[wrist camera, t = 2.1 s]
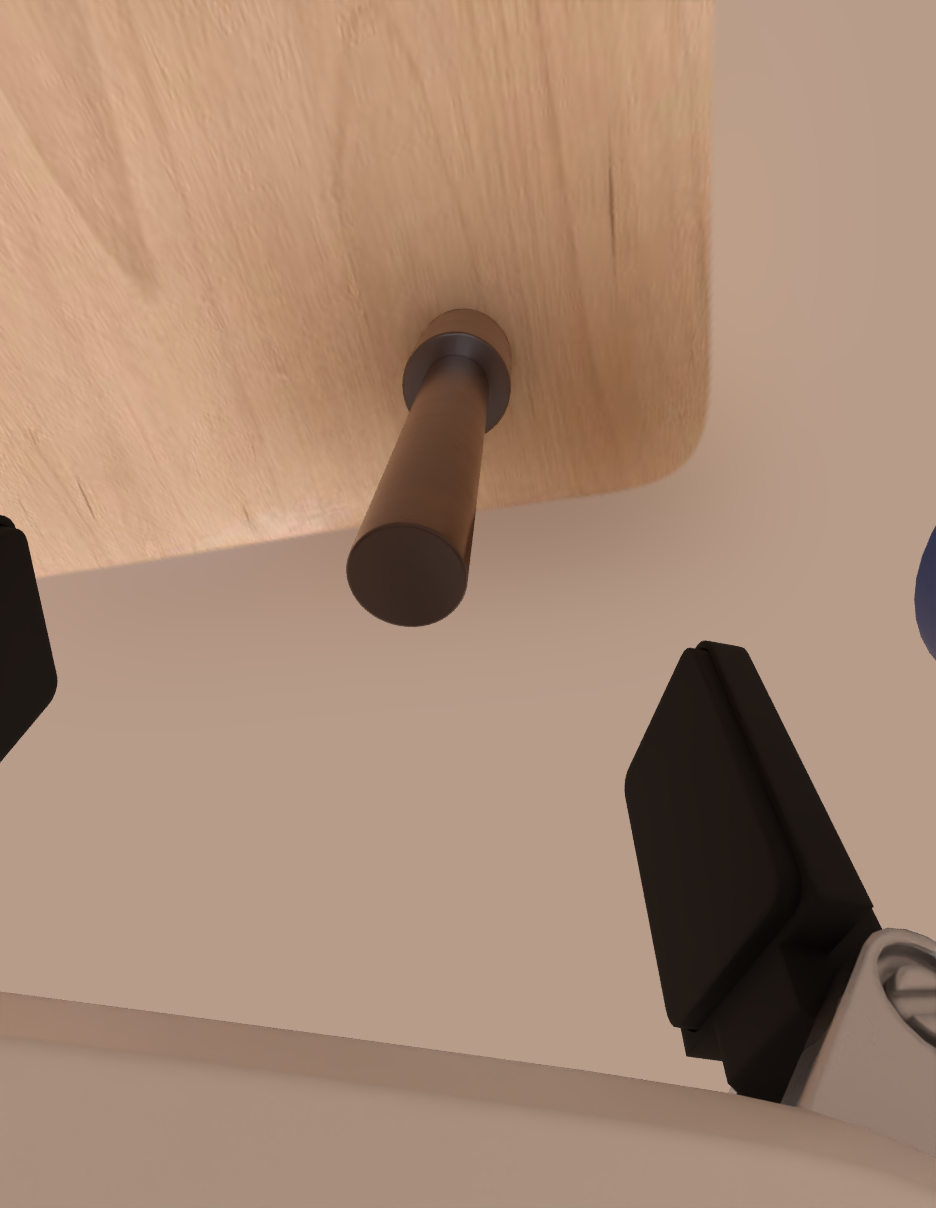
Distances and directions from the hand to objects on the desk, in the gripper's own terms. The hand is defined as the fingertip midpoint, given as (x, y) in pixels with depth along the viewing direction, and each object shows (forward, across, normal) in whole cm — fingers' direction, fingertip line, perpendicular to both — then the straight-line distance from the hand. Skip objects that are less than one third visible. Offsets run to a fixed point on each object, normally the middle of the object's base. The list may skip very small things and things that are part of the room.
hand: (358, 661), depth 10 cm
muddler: (+19, -1, 0) cm, 19 cm away
